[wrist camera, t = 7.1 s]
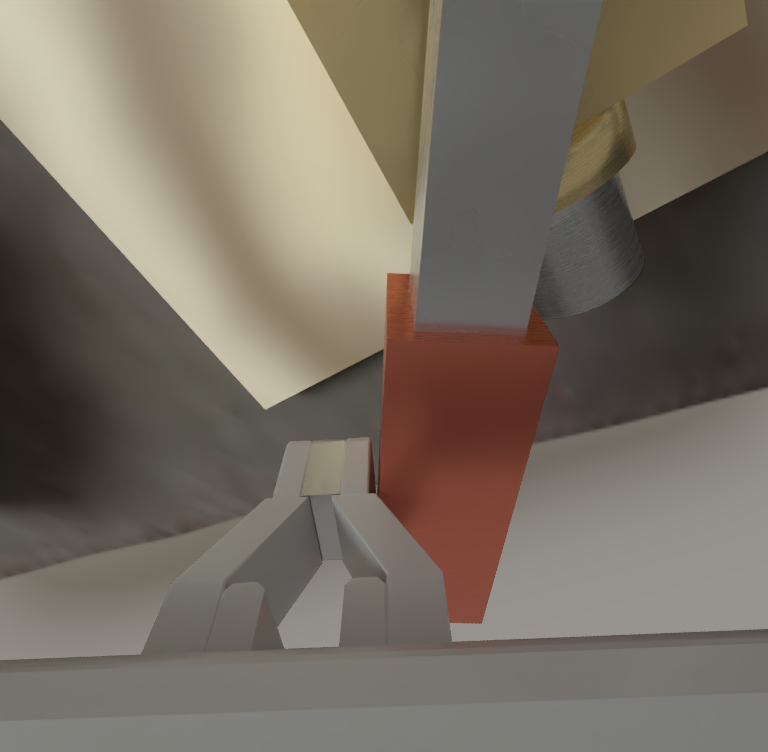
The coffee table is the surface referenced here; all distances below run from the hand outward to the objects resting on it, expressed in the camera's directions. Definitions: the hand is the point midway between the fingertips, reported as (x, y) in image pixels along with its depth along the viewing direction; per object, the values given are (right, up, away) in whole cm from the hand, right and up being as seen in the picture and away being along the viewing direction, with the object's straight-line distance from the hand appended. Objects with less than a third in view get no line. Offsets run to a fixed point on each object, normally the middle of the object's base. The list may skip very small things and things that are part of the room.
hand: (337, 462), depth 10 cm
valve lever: (+2, +4, -1) cm, 4 cm away
